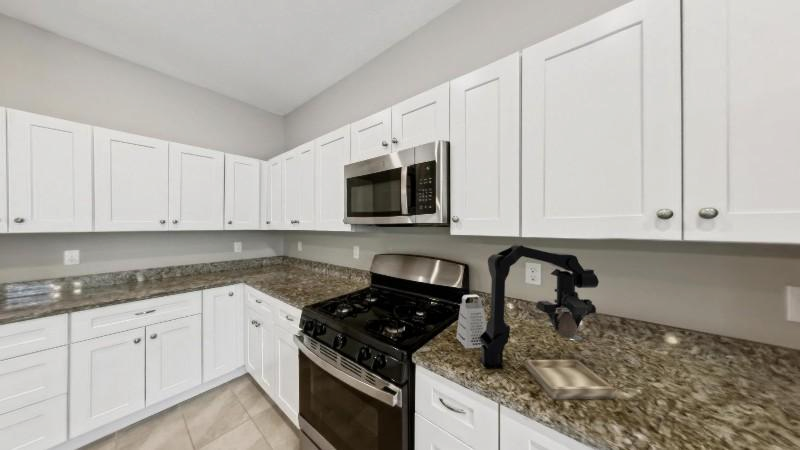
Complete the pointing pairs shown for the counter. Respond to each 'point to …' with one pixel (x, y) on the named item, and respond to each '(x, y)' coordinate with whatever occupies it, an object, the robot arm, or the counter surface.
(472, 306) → the grater
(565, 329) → the vase
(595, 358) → the counter surface
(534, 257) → the robot arm
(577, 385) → the tray
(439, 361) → the counter surface
